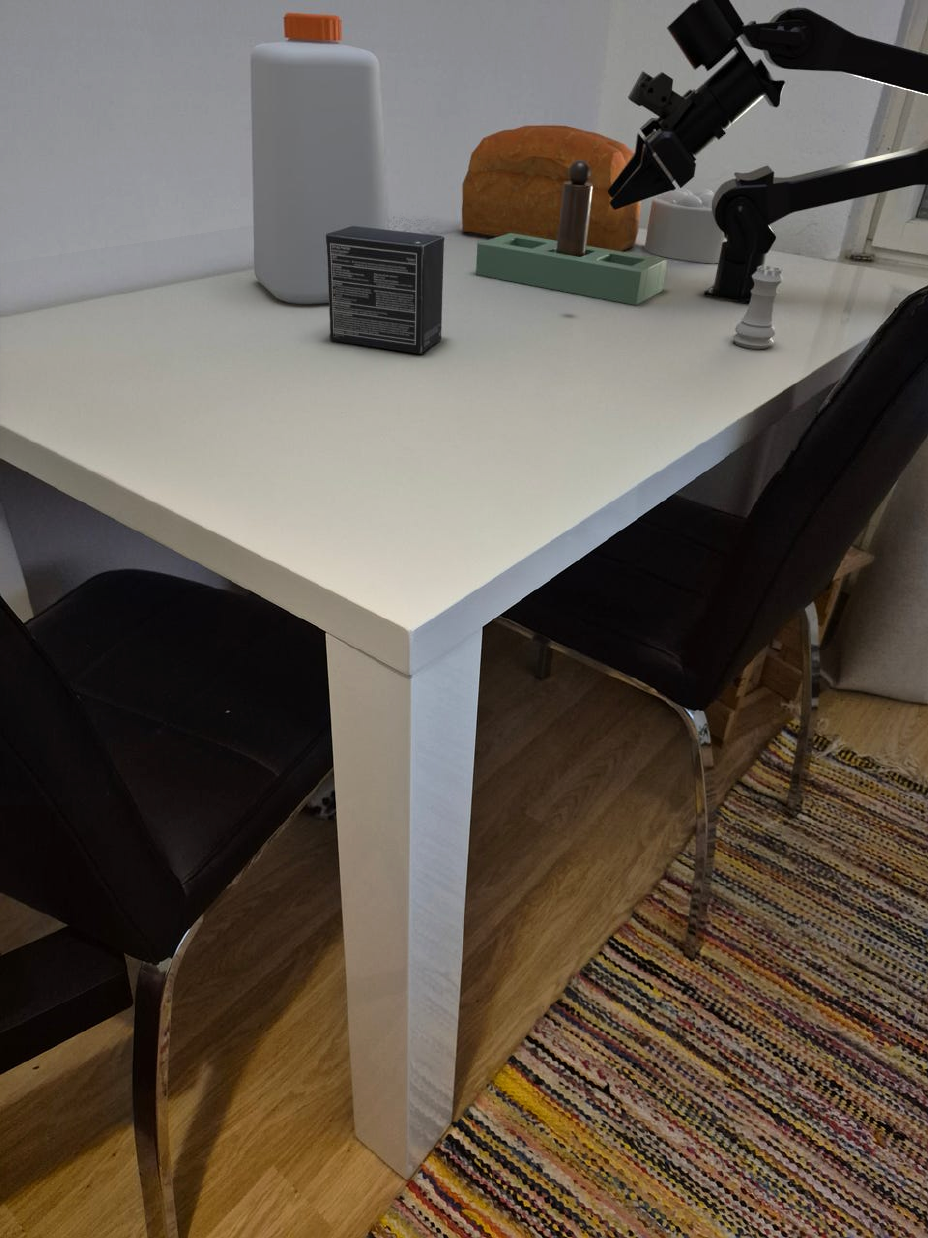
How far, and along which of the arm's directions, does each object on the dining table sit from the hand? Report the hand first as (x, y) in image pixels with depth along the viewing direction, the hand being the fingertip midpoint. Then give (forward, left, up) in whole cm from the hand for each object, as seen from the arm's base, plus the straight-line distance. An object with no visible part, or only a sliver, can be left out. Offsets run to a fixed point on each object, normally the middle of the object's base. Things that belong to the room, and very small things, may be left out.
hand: (610, 200), depth 110 cm
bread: (-22, -19, -10) cm, 31 cm away
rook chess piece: (+13, +24, -10) cm, 29 cm away
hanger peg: (+2, -4, -10) cm, 11 cm away
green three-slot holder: (+2, -4, -10) cm, 11 cm away
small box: (+38, -8, -10) cm, 40 cm away
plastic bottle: (+26, -26, -10) cm, 38 cm away
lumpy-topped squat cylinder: (-28, +2, -10) cm, 30 cm away
